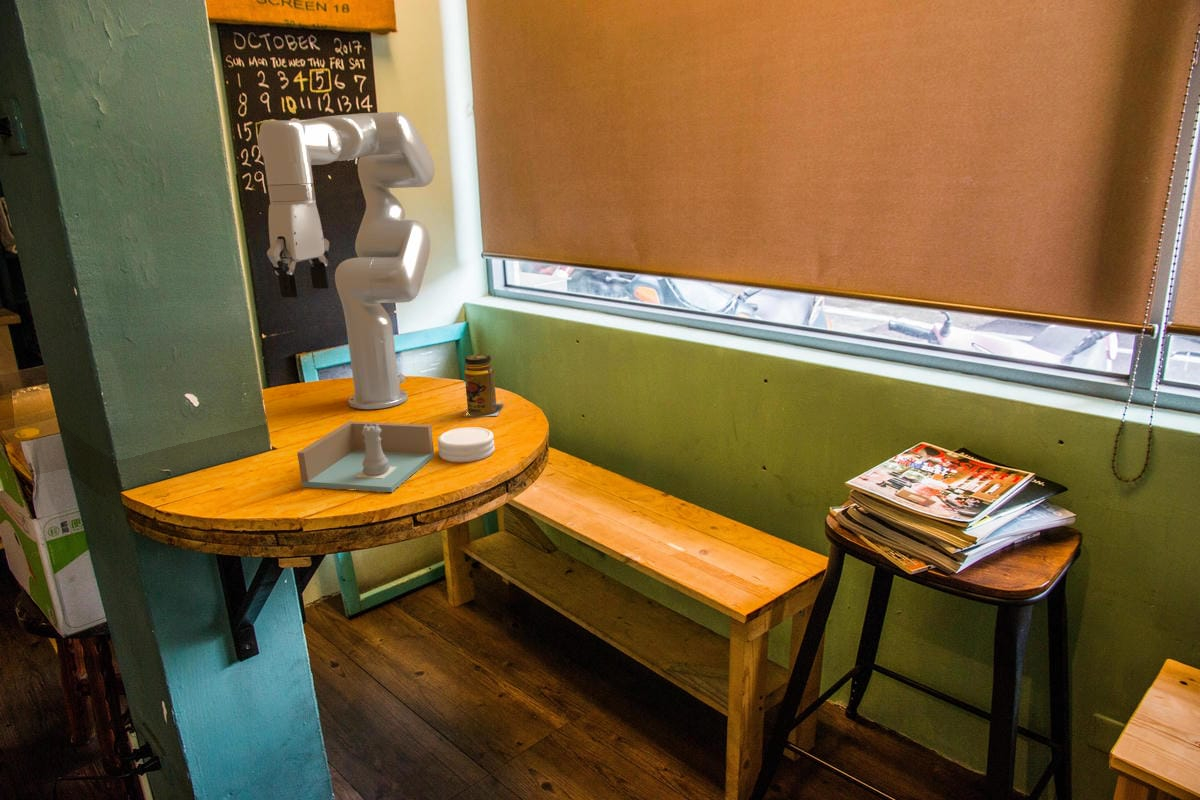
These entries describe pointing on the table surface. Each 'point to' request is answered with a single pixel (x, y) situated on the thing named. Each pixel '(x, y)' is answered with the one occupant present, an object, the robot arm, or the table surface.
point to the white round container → (466, 444)
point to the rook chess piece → (374, 451)
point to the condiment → (480, 387)
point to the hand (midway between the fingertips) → (306, 292)
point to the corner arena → (345, 449)
